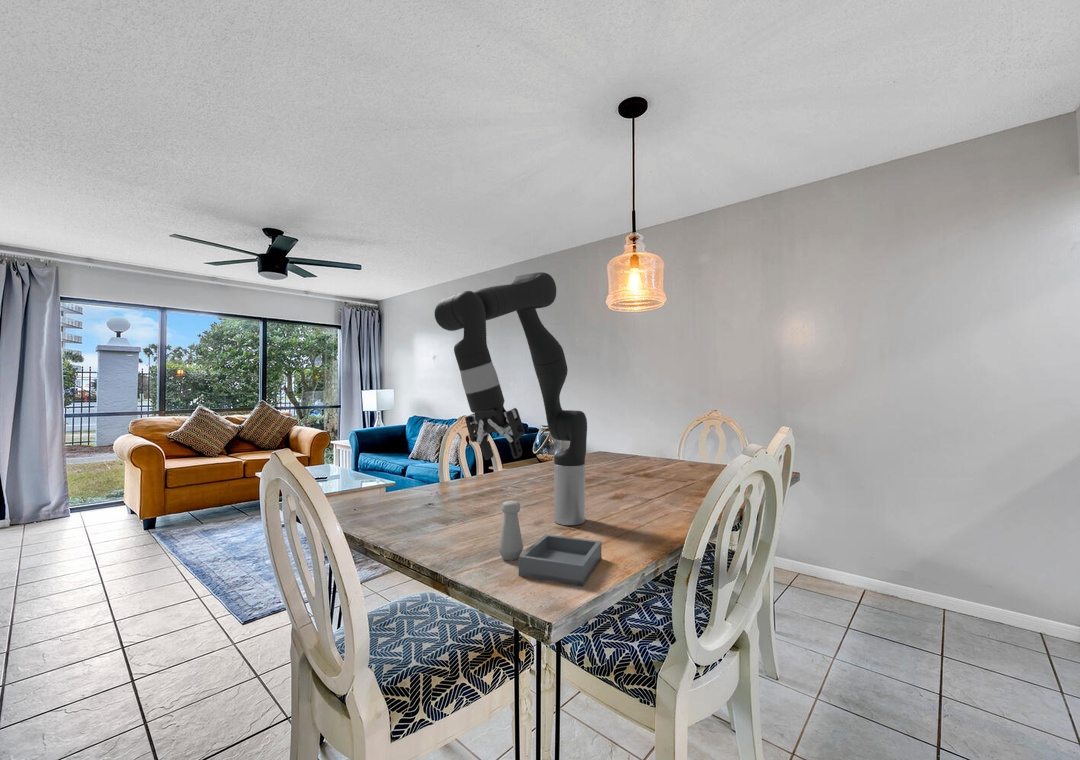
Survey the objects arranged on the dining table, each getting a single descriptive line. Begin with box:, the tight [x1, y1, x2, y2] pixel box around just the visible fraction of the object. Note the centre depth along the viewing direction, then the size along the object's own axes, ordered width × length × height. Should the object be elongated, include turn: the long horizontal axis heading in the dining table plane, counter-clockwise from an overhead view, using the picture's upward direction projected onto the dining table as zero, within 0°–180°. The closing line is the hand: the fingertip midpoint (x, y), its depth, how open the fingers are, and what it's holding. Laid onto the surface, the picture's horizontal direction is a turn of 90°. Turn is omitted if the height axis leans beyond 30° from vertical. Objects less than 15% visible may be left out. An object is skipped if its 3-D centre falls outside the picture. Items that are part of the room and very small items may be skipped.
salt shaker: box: [497, 500, 524, 561], centre depth 105 cm, size 6×6×13 cm
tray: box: [518, 533, 602, 587], centre depth 100 cm, size 16×14×4 cm
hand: (503, 457), depth 98 cm, fingers open, 8 cm apart
